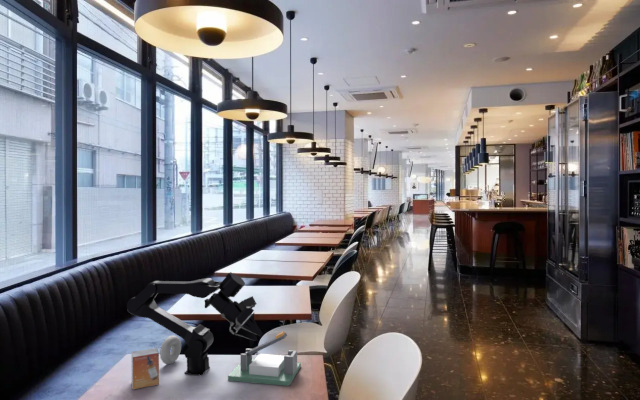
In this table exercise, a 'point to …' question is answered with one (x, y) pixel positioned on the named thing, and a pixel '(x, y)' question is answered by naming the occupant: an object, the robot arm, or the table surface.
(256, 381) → the board
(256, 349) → the strap
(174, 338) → the donut
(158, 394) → the table surface
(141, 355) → the small box
